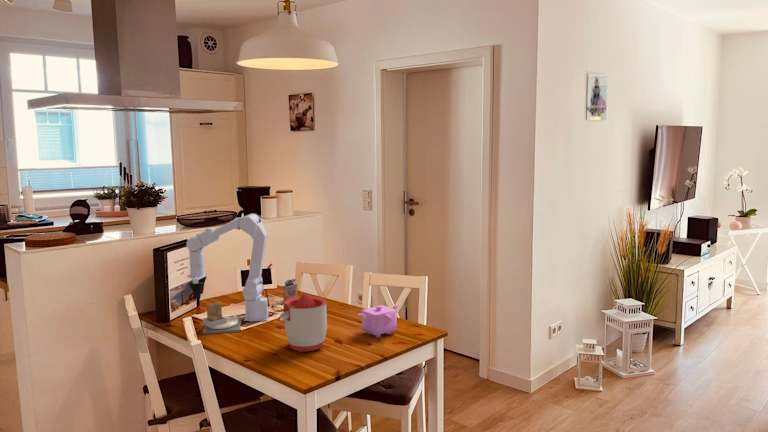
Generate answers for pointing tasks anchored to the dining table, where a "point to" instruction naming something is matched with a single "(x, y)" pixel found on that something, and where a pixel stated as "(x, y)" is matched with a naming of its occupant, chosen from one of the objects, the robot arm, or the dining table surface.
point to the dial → (221, 323)
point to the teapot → (379, 320)
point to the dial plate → (226, 330)
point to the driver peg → (214, 311)
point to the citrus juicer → (305, 322)
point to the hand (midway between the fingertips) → (198, 296)
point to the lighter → (290, 289)
